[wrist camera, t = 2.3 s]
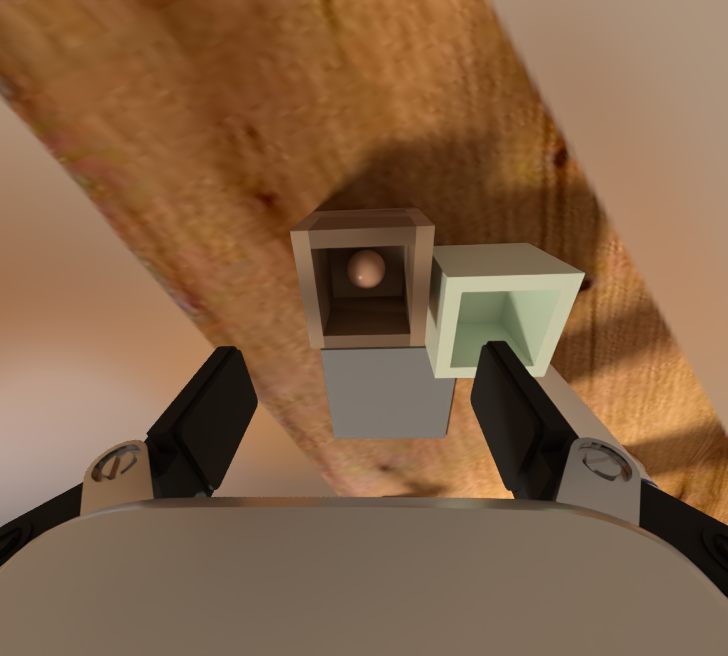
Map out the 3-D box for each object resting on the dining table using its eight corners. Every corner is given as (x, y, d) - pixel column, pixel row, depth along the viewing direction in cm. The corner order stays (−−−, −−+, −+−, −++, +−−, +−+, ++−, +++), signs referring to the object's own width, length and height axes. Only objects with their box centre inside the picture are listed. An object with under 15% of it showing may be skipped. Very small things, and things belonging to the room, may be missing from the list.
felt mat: (444, 435, 35) (444, 438, 34) (334, 436, 35) (334, 438, 35) (459, 345, 27) (460, 347, 27) (321, 348, 28) (320, 350, 28)
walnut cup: (411, 301, 25) (424, 345, 19) (325, 303, 25) (310, 348, 19) (417, 207, 21) (435, 225, 15) (313, 211, 21) (290, 231, 15)
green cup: (504, 327, 26) (544, 376, 20) (420, 329, 26) (434, 378, 21) (527, 242, 22) (585, 273, 16) (427, 246, 22) (447, 277, 16)
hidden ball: (384, 280, 23) (386, 294, 21) (349, 281, 23) (346, 295, 21) (384, 244, 22) (386, 255, 19) (346, 245, 22) (343, 256, 19)
